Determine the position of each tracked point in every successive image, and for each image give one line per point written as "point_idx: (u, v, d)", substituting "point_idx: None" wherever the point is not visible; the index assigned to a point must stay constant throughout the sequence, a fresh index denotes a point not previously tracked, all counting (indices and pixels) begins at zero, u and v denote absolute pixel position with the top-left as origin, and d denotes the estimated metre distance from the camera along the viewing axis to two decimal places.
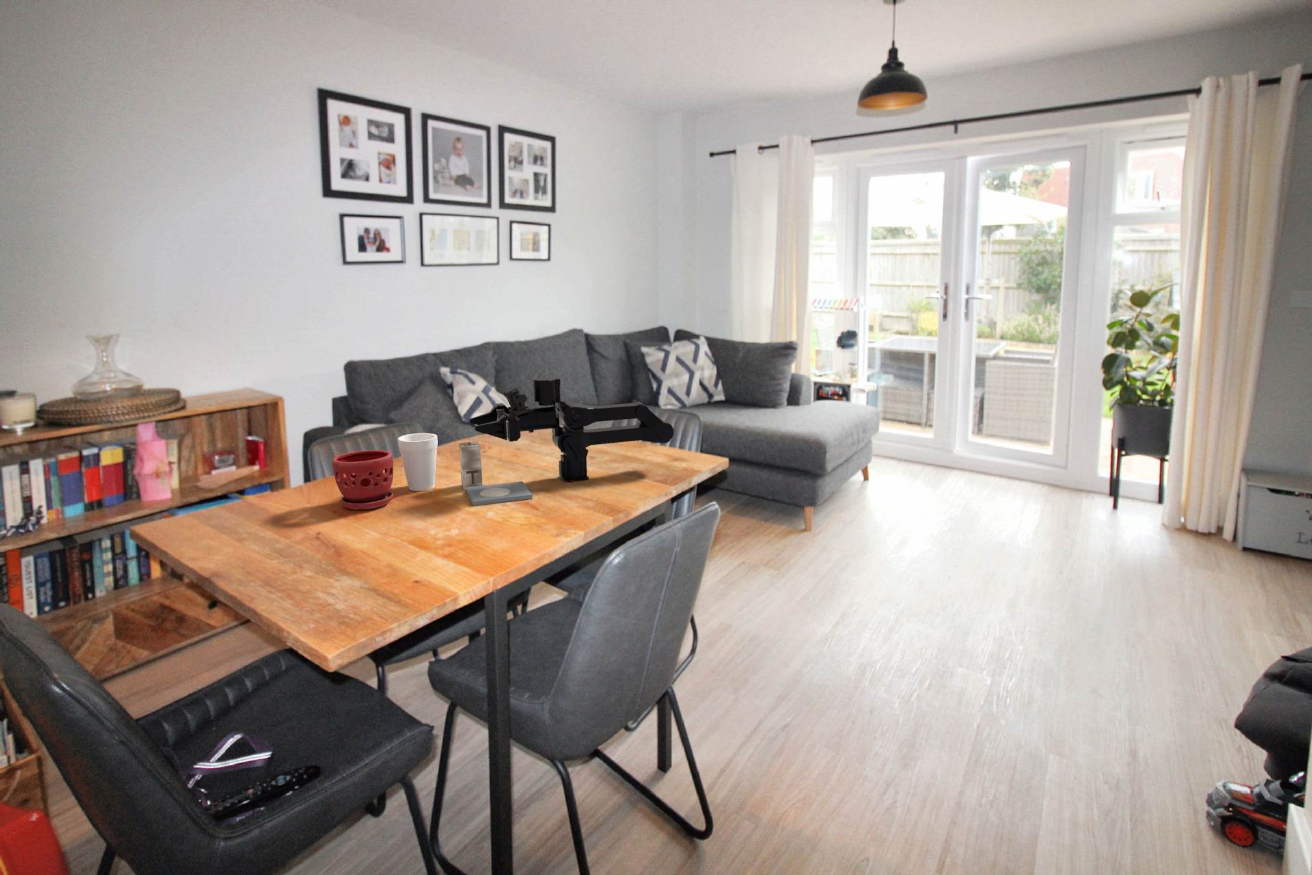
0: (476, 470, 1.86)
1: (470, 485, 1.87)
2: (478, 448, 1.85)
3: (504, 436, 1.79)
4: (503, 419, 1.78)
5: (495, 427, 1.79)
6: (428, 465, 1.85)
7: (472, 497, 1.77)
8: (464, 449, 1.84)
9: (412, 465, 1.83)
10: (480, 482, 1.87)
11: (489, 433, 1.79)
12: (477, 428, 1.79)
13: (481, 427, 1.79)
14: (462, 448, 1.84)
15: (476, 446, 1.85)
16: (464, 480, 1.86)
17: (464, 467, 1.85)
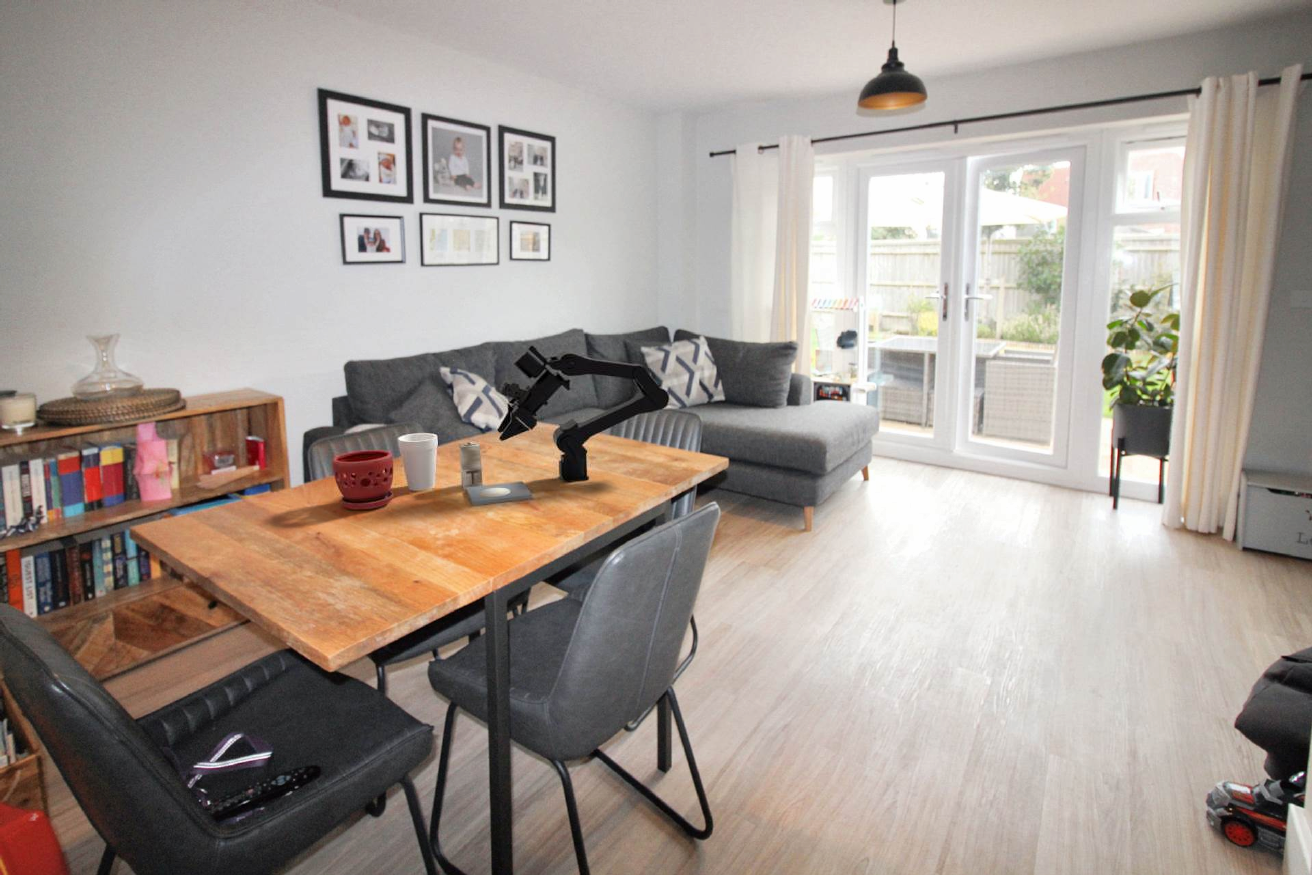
0: (476, 470, 1.86)
1: (470, 485, 1.87)
2: (478, 448, 1.85)
3: (525, 428, 1.82)
4: (512, 417, 1.80)
5: (513, 426, 1.83)
6: (428, 465, 1.85)
7: (472, 497, 1.77)
8: (464, 449, 1.84)
9: (412, 465, 1.83)
10: (480, 482, 1.87)
11: (513, 434, 1.83)
12: (501, 438, 1.84)
13: (504, 435, 1.83)
14: (462, 448, 1.84)
15: (476, 446, 1.85)
16: (464, 480, 1.86)
17: (464, 467, 1.85)
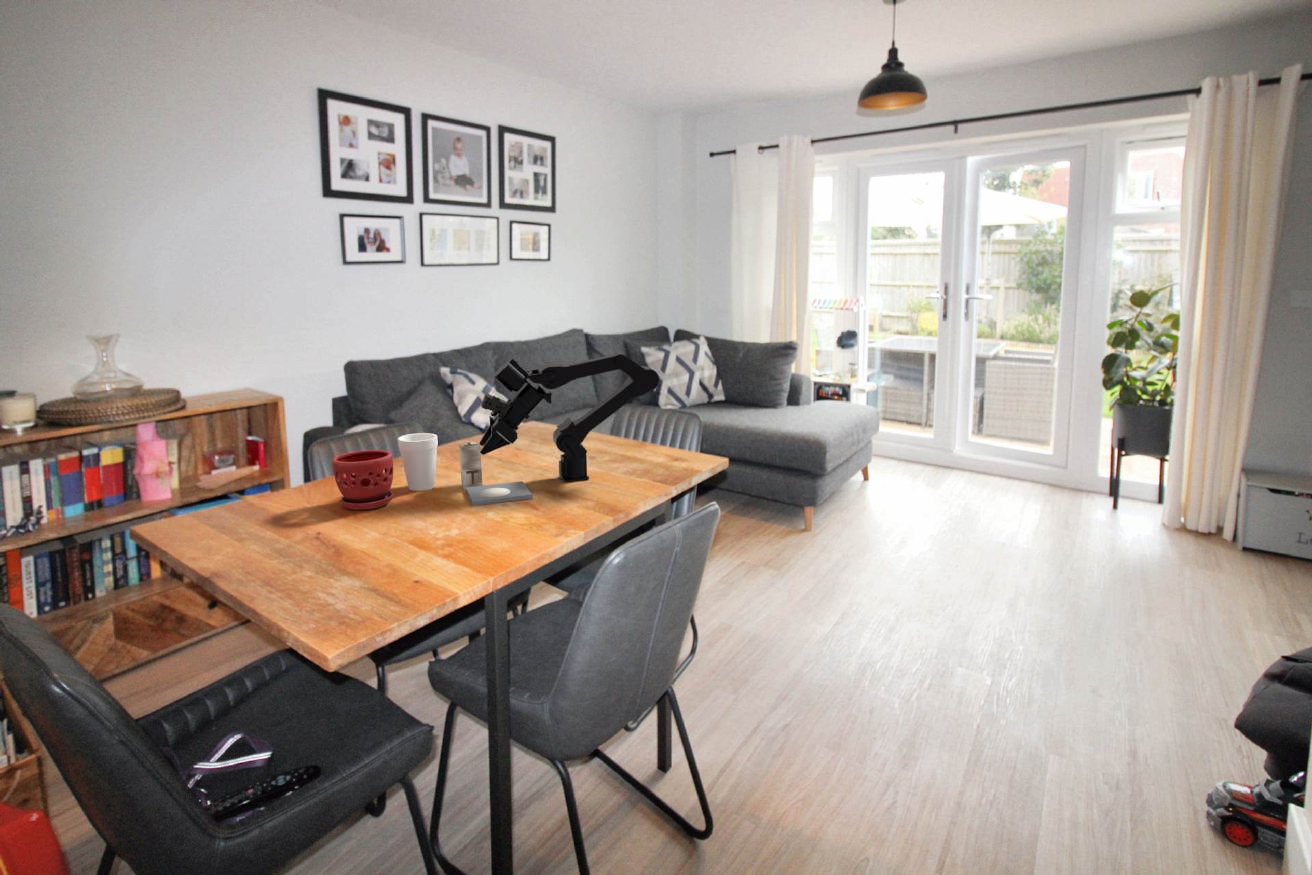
0: (476, 470, 1.86)
1: (470, 485, 1.87)
2: (478, 448, 1.85)
3: (506, 442, 1.81)
4: (493, 431, 1.80)
5: (494, 440, 1.82)
6: (428, 465, 1.85)
7: (472, 497, 1.77)
8: (464, 449, 1.84)
9: (412, 465, 1.83)
10: (480, 482, 1.87)
11: (494, 448, 1.83)
12: (482, 452, 1.83)
13: (485, 449, 1.83)
14: (462, 448, 1.84)
15: (476, 446, 1.85)
16: (464, 480, 1.86)
17: (464, 467, 1.85)
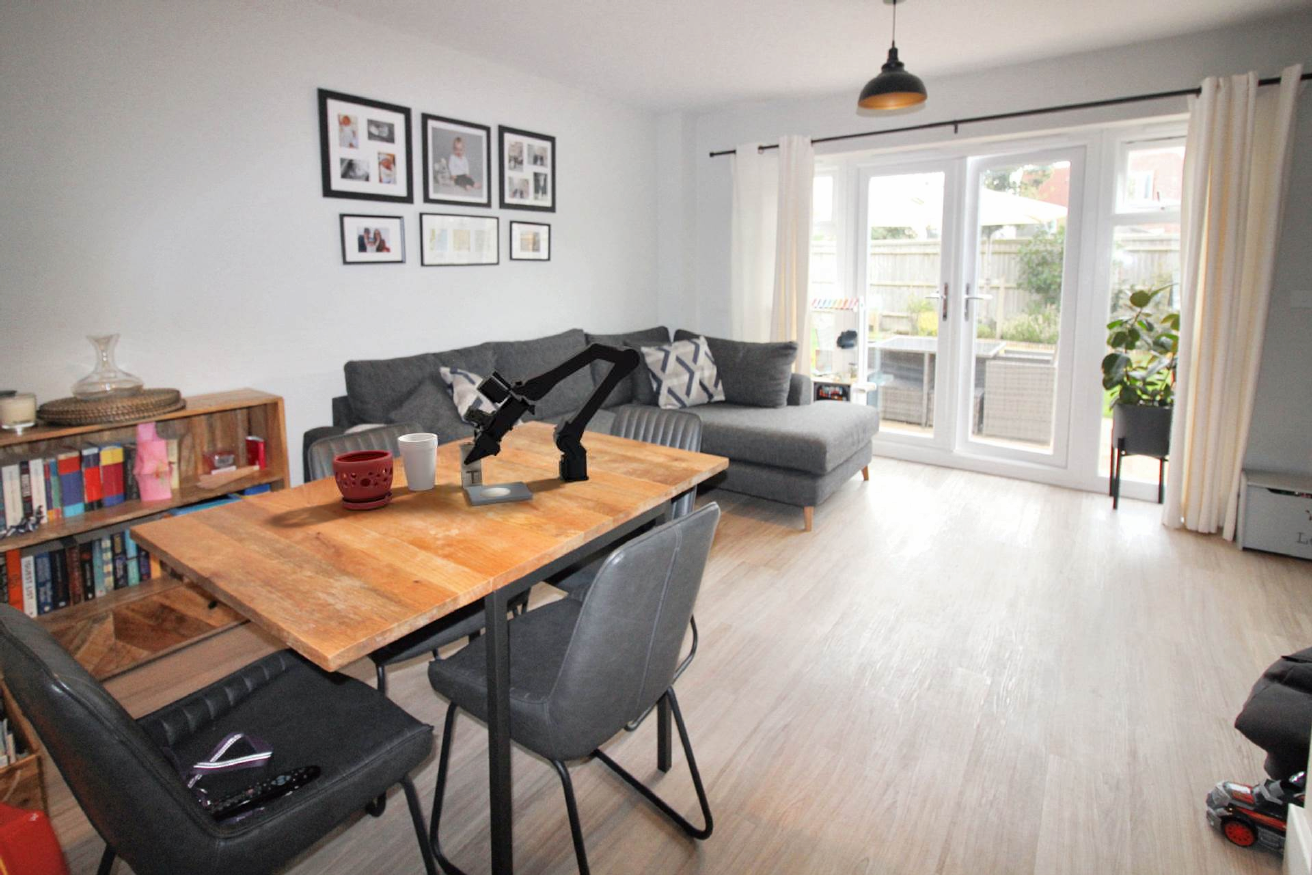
0: (476, 470, 1.86)
1: (470, 485, 1.87)
2: None
3: (489, 452, 1.83)
4: (475, 442, 1.81)
5: (477, 450, 1.84)
6: (428, 465, 1.85)
7: (472, 497, 1.77)
8: (464, 449, 1.84)
9: (412, 465, 1.83)
10: (480, 482, 1.87)
11: (477, 459, 1.84)
12: (466, 462, 1.85)
13: (468, 459, 1.84)
14: (462, 448, 1.84)
15: None
16: (464, 480, 1.86)
17: (464, 467, 1.85)
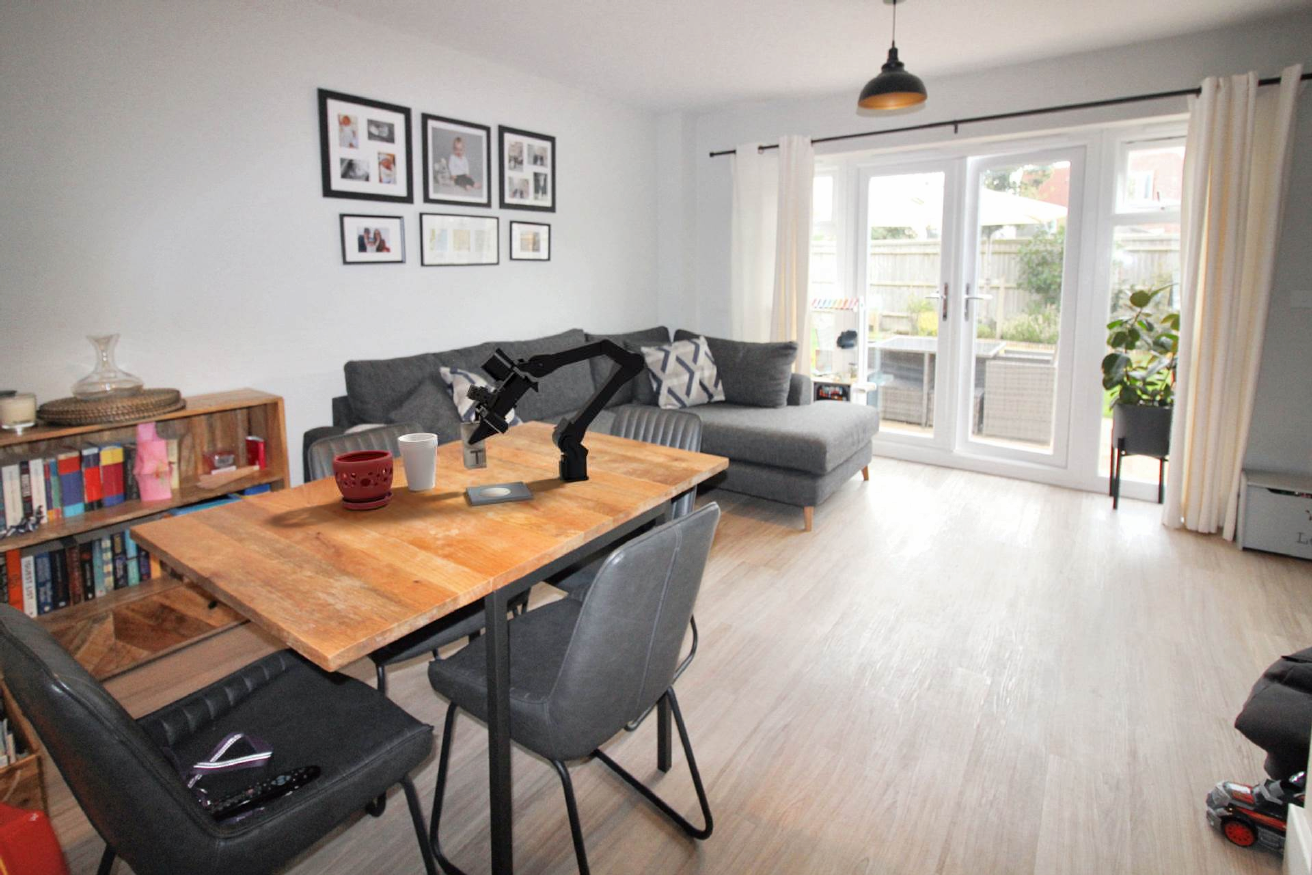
0: (480, 449, 1.83)
1: (474, 465, 1.83)
2: None
3: (495, 431, 1.80)
4: (481, 420, 1.78)
5: (482, 430, 1.80)
6: (428, 465, 1.85)
7: (472, 497, 1.77)
8: (468, 428, 1.80)
9: (412, 465, 1.83)
10: (484, 462, 1.84)
11: (482, 438, 1.81)
12: (470, 442, 1.81)
13: (472, 439, 1.80)
14: (466, 427, 1.80)
15: None
16: (468, 460, 1.82)
17: (468, 447, 1.81)
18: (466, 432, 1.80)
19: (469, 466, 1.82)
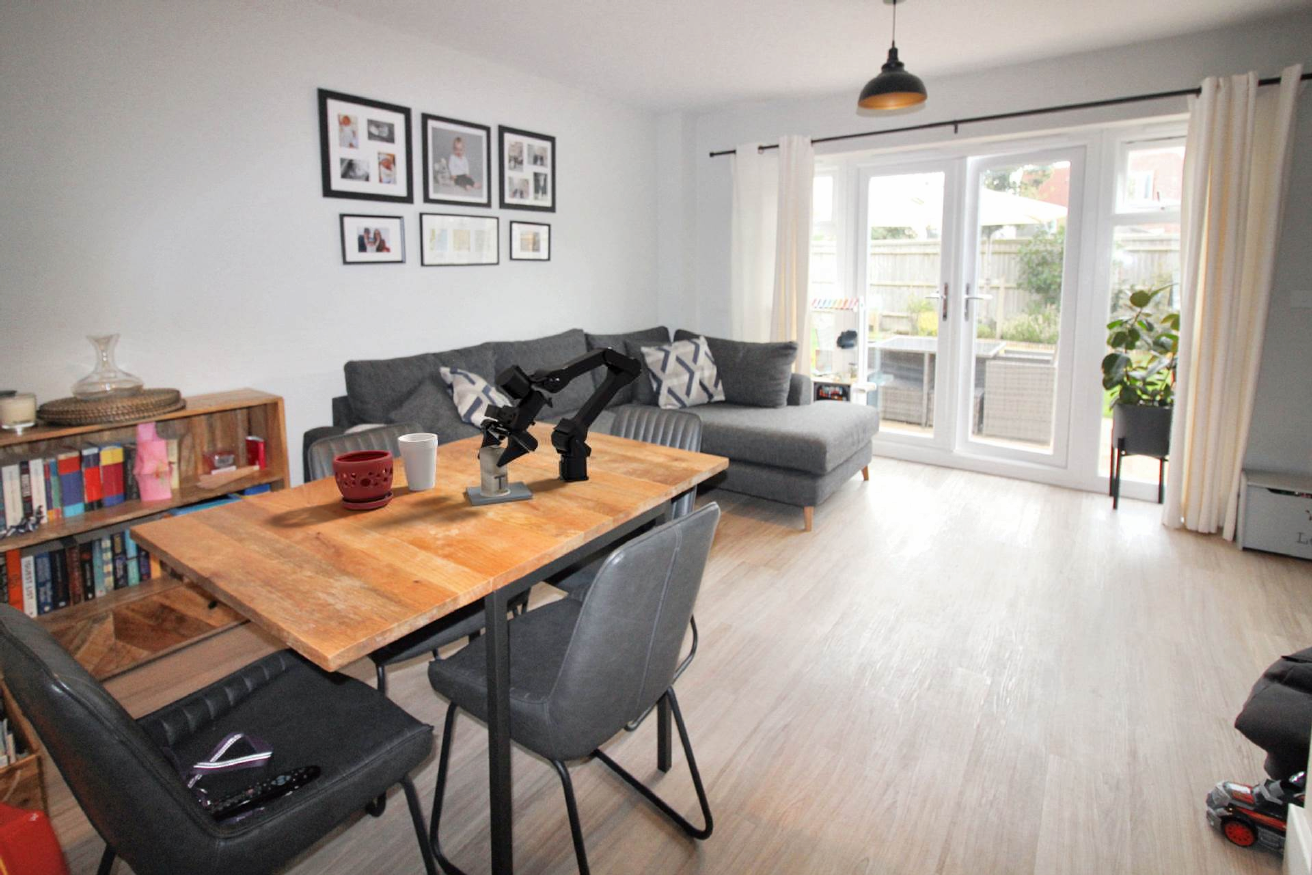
0: (503, 474, 1.78)
1: (498, 491, 1.78)
2: None
3: (525, 451, 1.75)
4: (514, 441, 1.73)
5: (511, 451, 1.75)
6: (428, 465, 1.85)
7: (472, 497, 1.77)
8: (492, 453, 1.75)
9: (412, 465, 1.83)
10: (506, 487, 1.80)
11: (511, 459, 1.75)
12: (499, 465, 1.74)
13: (502, 461, 1.74)
14: (491, 453, 1.75)
15: (503, 449, 1.77)
16: (492, 486, 1.77)
17: (492, 472, 1.76)
18: (491, 458, 1.75)
19: (493, 492, 1.77)
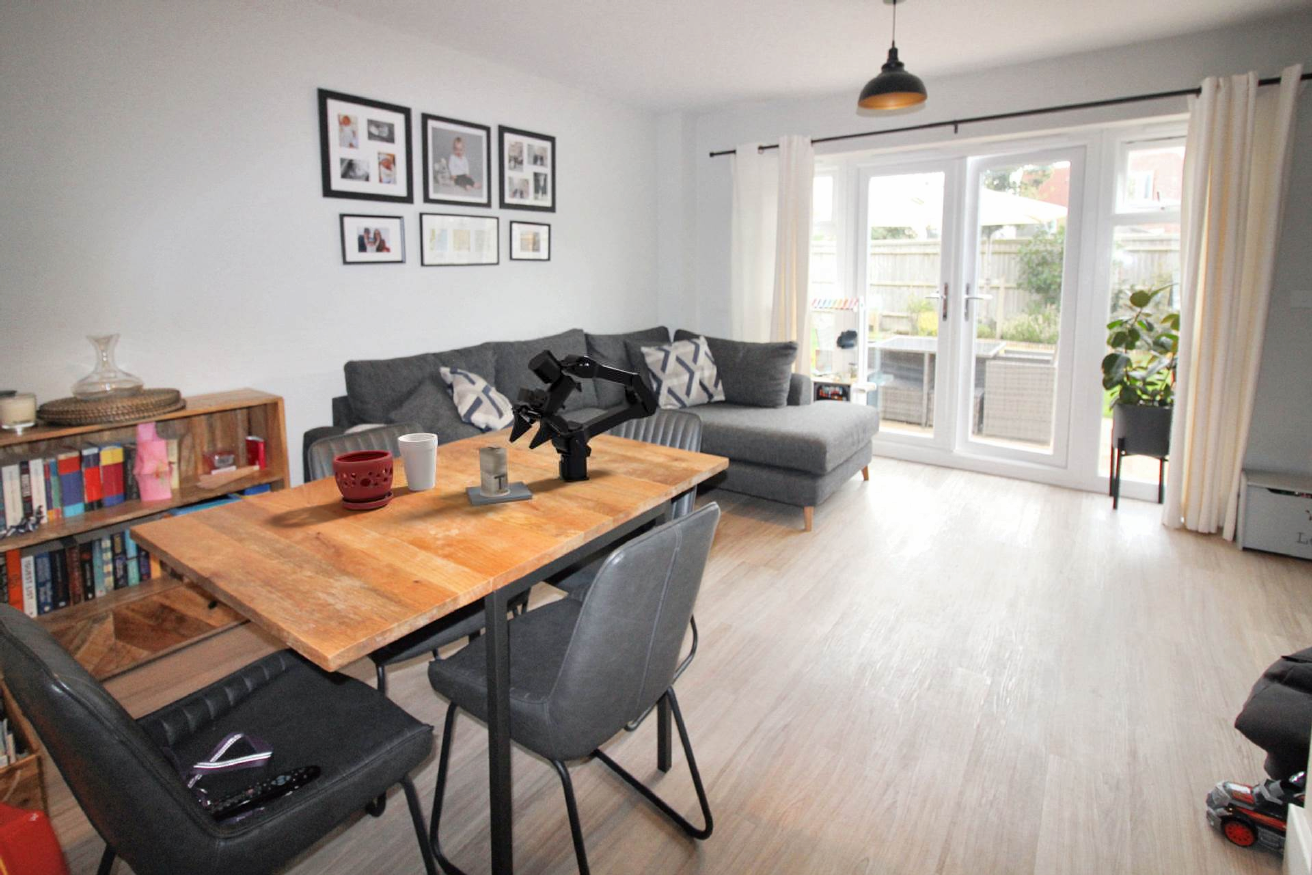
0: (503, 474, 1.78)
1: (498, 491, 1.78)
2: (504, 451, 1.78)
3: (556, 434, 1.81)
4: (546, 423, 1.78)
5: (543, 433, 1.80)
6: (428, 465, 1.85)
7: (472, 497, 1.77)
8: (492, 453, 1.75)
9: (412, 465, 1.83)
10: (506, 487, 1.80)
11: (543, 441, 1.80)
12: (531, 447, 1.80)
13: (534, 443, 1.79)
14: (490, 453, 1.75)
15: (502, 449, 1.77)
16: (492, 486, 1.77)
17: (492, 472, 1.76)
18: (490, 457, 1.75)
19: (493, 492, 1.77)
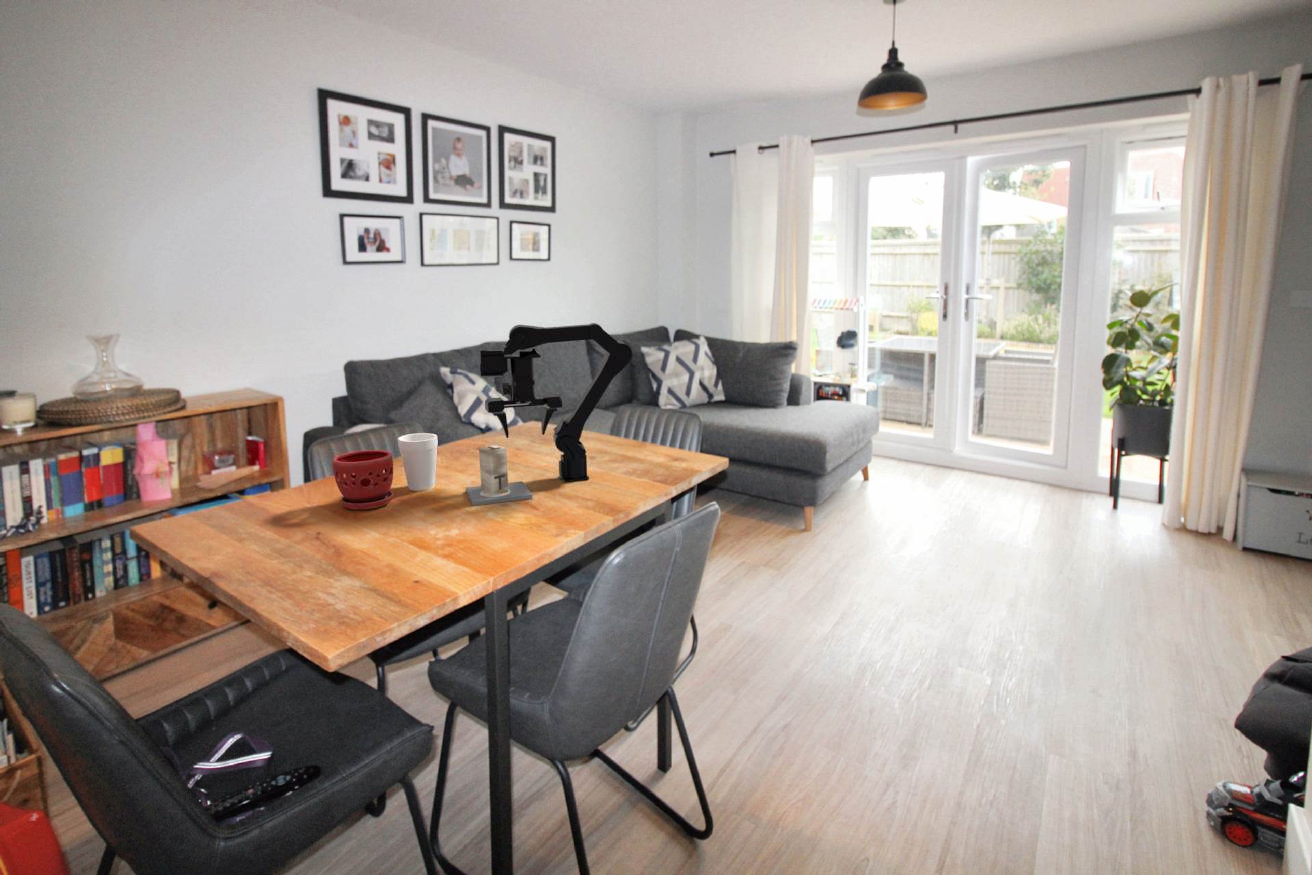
0: (503, 474, 1.78)
1: (498, 491, 1.78)
2: (504, 451, 1.78)
3: None
4: None
5: None
6: (428, 465, 1.85)
7: (472, 497, 1.77)
8: (492, 453, 1.75)
9: (412, 465, 1.83)
10: (506, 487, 1.80)
11: (503, 426, 1.86)
12: None
13: (504, 432, 1.88)
14: (490, 453, 1.75)
15: (502, 449, 1.77)
16: (492, 486, 1.77)
17: (492, 472, 1.76)
18: (491, 457, 1.75)
19: (493, 492, 1.77)
